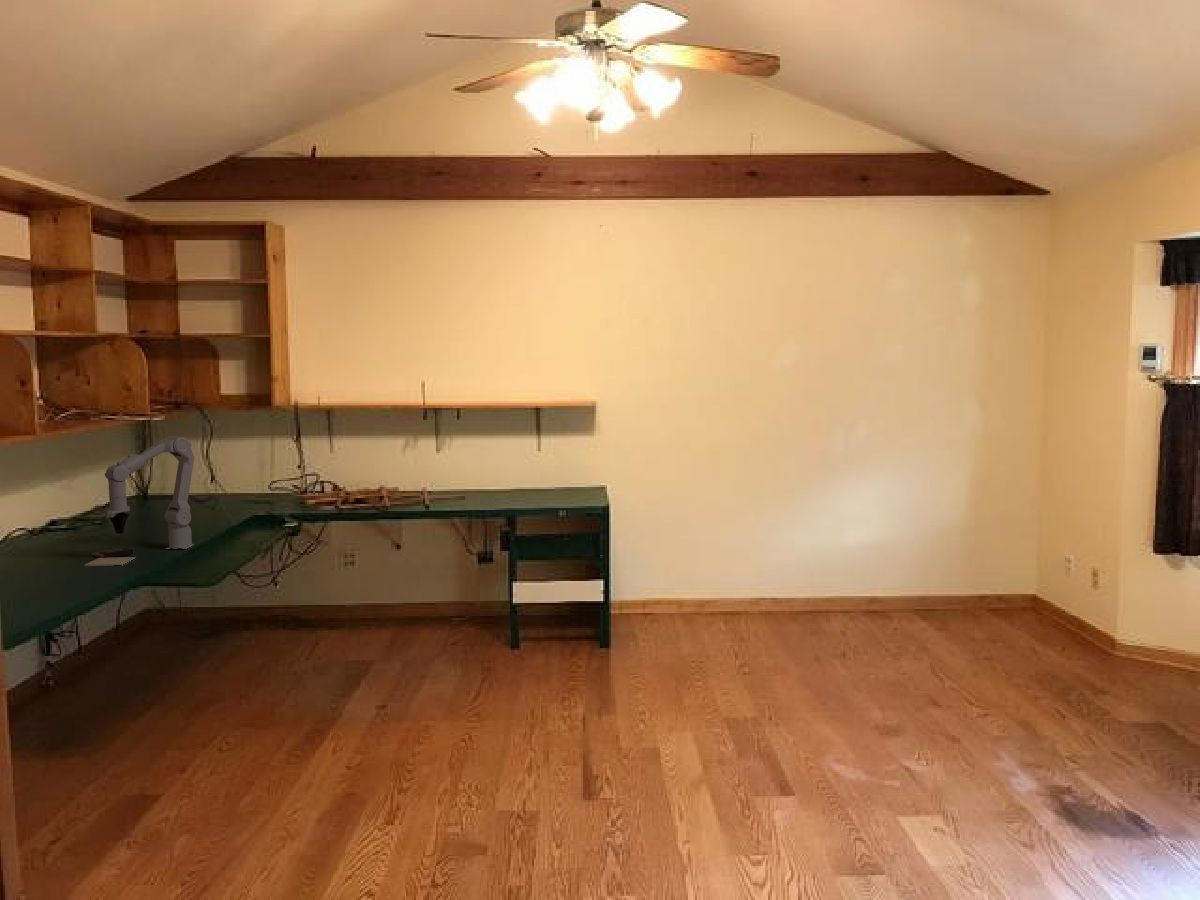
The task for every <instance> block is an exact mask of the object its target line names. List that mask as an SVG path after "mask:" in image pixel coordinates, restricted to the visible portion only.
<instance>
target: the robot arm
mask: <svg viewBox="0 0 1200 900" xmlns="http://www.w3.org/2000/svg"><path fill="white" fill-rule="evenodd" d="M163 453H169V454H171V455H172V456H173V457H175V459H176V460H177V462H178V464H177V470H176V477H175V481H174V482H175V483H174V489H173V496H172V501H170V503H169V504H168V506H167V510H165V512H164V520H165V522H166V523H167V526H168V527H167V530H168V531H167V532H168V547H166V548H165V549H170V548H173V549H177V548H182V549H186V550H187V548H188V549H190V548H191V546H192V547H194V546H195V543H193V540H192V539H193V538H192V528H191V527H190V526H189V524H190V523H191V521H192V514H191V506H190V504H189V503H188V500H189V496H190V487H191V483H192V482H191V481H192V475H193V468H194V463H195V455H194V453H193V449H192V442H190V441H189V439H187V438H186V437H184V436H183V437H182V436H180V437H178V436H173V435H169V436H166V437H165V438H162V439H160V440H159V441H158V442H156V443H155V444H153V445H152V446H151V447H148V448H147V449H146V450H144V451H142V453H139V454H137V453H136V454H135V453H133V454H131V453H130V454H128V455H127V457H126V458H125V459H123V460H121V461H117V462H116V464H114V465H113V464H111V465H110V466H108V467H107V469H105V473H104V476H105V478H106V479H107V481H108V499H109V500H108V501H109V508H107V509H106V512H107V513H106V517H107V518H108V519H109V520H110V521H111V523H112V525H113V528H114V532H115V534H120V535H121V534H124V532H125V526H126V523H127V519H128V518H129V513H127V512H130V509H131V507H130V505H128V502H127V501H128V500H127V485H126V482H127V481H126V480H127V479H128V478H129V476H130V475H131V474H133V473H136V472H137V471H138V470H140V469H142V468H143V467H144V465H145V463H146V462H148V461H149V460H151V459H152V458H155V457H157V456H158V455H160V454H163ZM193 545H194V546H193ZM189 547H190V548H189Z"/></svg>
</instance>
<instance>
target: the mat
mask: <svg viewBox="0 0 1200 900" xmlns="http://www.w3.org/2000/svg"><path fill="white" fill-rule="evenodd" d="M135 558H136V559H137V557H136V556H133V557H130V556H128V557H126V556H125V557H124V556H123V557H122V556H116V557H109V558H101V557H98V558H96V559H94V560H92V561H89V562H87V563H85V564H84V567H115V566H114V565H122V566H124V565H126V564H128V563H130V562H132V561H131V560H133V559H135ZM136 559H135V560H136ZM129 561H130V562H129ZM133 561H134V560H133ZM127 562H128V563H127ZM125 563H126V564H125ZM123 564H124V565H123Z"/></svg>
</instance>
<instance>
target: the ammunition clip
mask: <svg viewBox="0 0 1200 900" xmlns="http://www.w3.org/2000/svg"><path fill="white" fill-rule="evenodd" d="M91 554H92V556H95V557H98V558H113V557H122V556H123V557H124V556H129V555H134V550H133V548H116V549H110V550H103V551H97V552H92V553H91Z"/></svg>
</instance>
